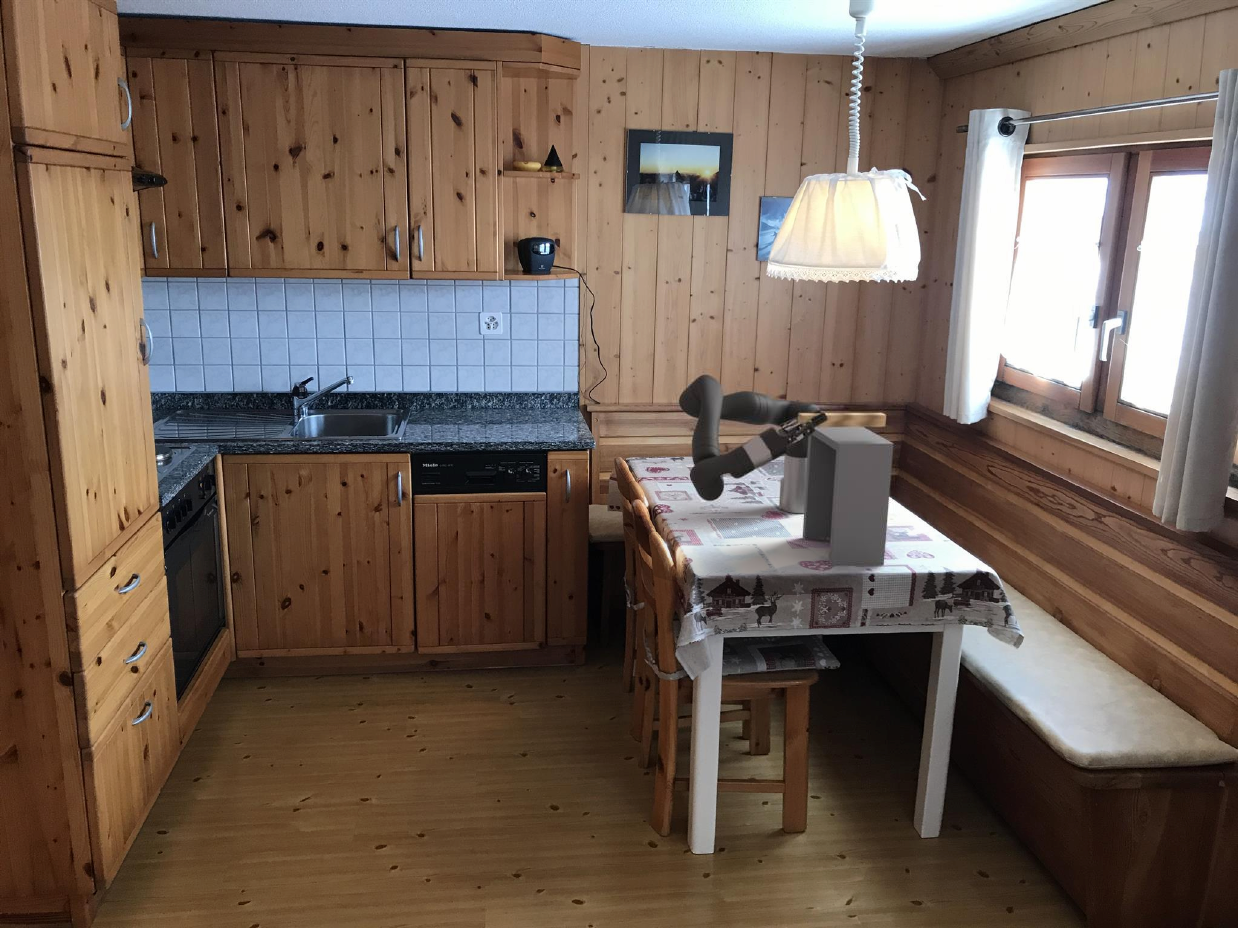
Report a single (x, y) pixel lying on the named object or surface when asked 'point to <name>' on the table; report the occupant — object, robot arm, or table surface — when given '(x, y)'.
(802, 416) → the wooden rod
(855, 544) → the gray shelf
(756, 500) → the table surface
